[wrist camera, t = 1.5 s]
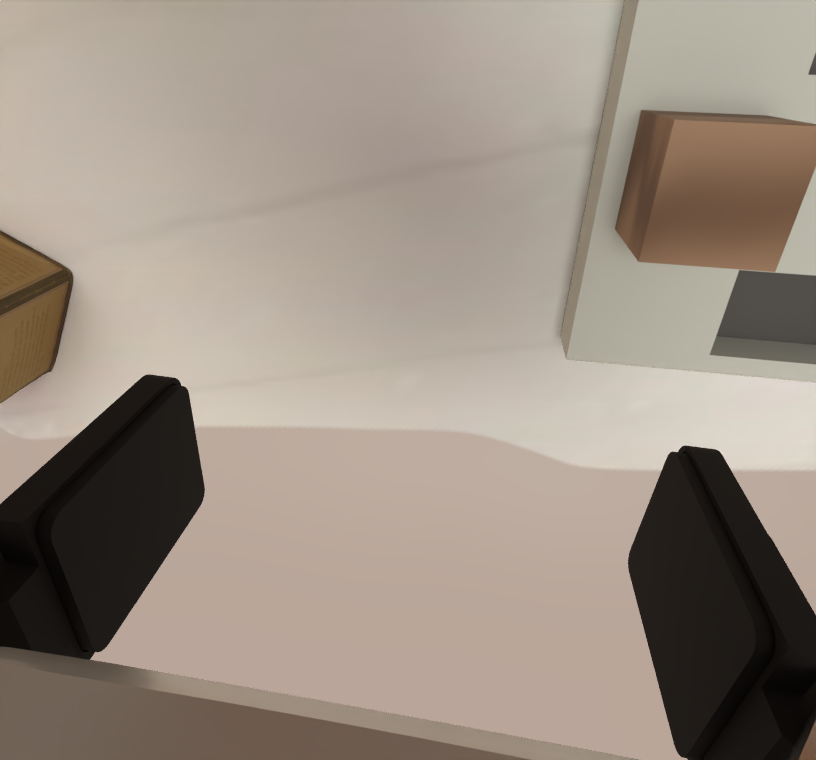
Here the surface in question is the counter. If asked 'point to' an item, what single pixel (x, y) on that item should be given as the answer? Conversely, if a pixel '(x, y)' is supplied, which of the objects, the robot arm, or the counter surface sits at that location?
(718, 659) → the robot arm
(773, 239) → the walnut block
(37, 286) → the food packaging
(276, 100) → the counter surface
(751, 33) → the board
